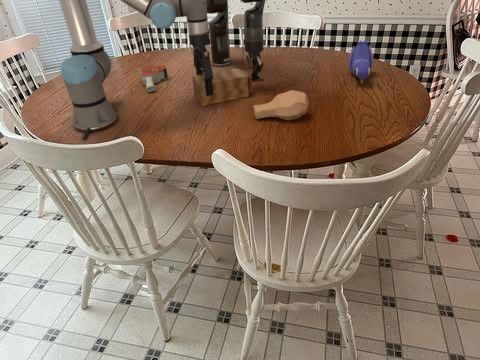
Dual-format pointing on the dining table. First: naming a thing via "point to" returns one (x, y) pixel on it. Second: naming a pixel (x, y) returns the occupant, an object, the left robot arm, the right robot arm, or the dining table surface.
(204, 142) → the dining table surface
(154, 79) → the tape dispenser
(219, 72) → the brown wooden block
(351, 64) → the toy
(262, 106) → the squash
